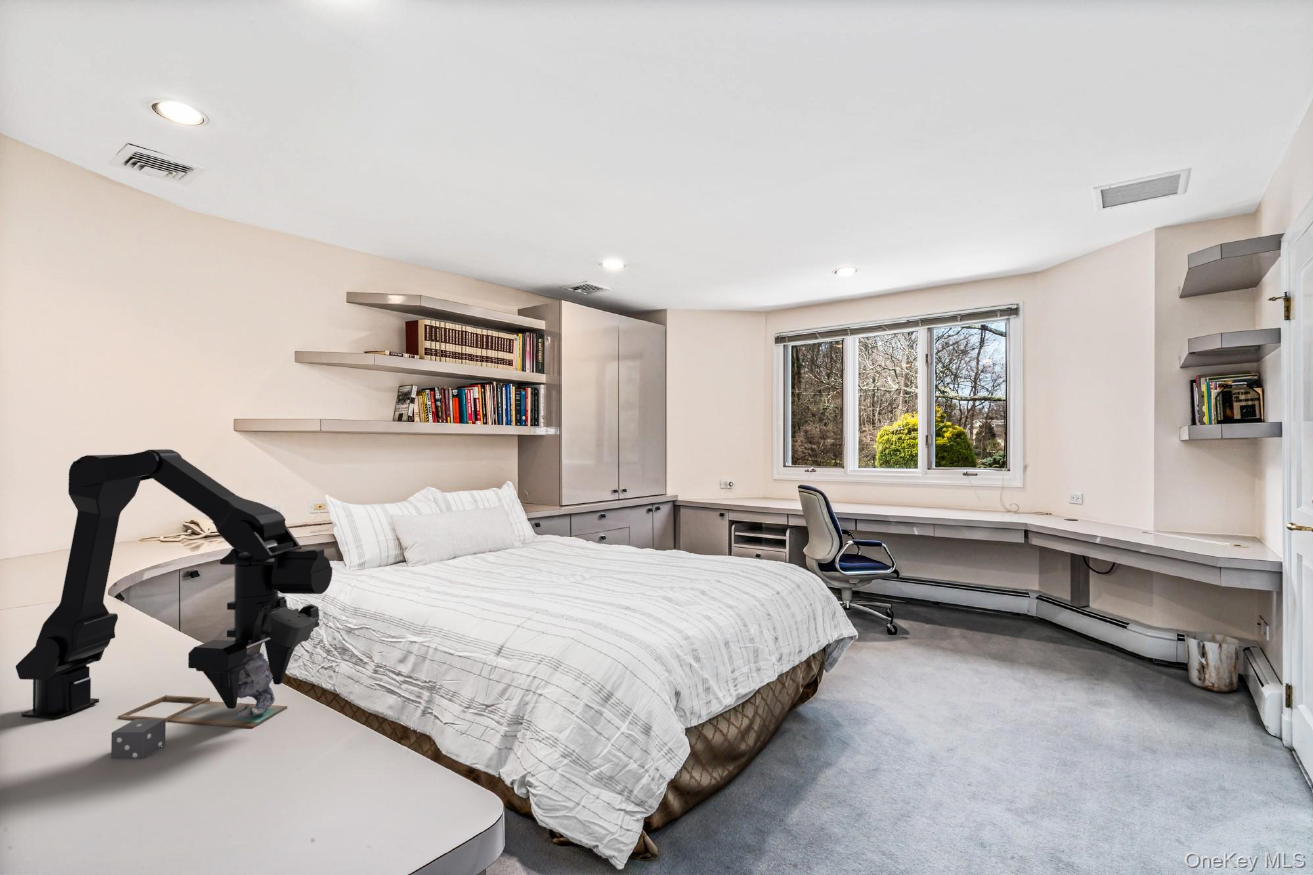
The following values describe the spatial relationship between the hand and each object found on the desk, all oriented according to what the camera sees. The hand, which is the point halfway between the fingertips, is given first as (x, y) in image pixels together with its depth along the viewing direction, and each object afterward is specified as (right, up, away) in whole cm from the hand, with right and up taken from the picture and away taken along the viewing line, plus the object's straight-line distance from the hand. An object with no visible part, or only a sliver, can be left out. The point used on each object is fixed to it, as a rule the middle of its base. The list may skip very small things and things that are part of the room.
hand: (255, 695), depth 96 cm
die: (-8, -3, -12) cm, 15 cm away
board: (-5, -3, +1) cm, 6 cm away
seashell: (0, -3, 0) cm, 3 cm away
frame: (-15, -3, +2) cm, 16 cm away
